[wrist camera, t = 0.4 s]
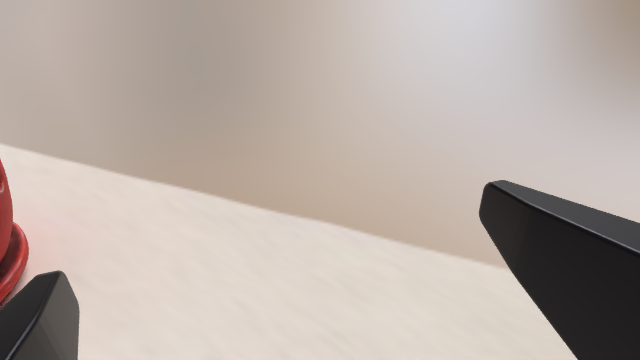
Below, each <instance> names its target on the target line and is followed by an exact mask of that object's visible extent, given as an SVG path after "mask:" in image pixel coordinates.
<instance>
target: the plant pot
mask: <svg viewBox="0 0 640 360" xmlns="http://www.w3.org/2000/svg"><path fill="white" fill-rule="evenodd" d="M28 254H29V247H28V242H27V239H26V236H25V234H24V232H23V231H22V229H21V228H20V227H19V226H18V225H17V224H16V223H14V222H13V210H12V199H11V195H10V190H9V186H8V181H7V177H6V173H5V170H4V168H3V165H2V162H1V160H0V302H1V301H2V300H3V299H4V298H5V297H6V296H7V294H8V293H9V292H10V291H11V290H12V288H13V287H14V286H15V284H16V283H17V281H18V280H19V278H20V277H21V275H22V273H23V271H24V269H25V266H26V263H27V260H28Z"/></svg>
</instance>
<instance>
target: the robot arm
mask: <svg viewBox="0 0 640 360" xmlns="http://www.w3.org/2000/svg"><path fill="white" fill-rule="evenodd" d="M479 217H480V220H481V222H482V224H483V226H484V227H485V229H486V231H487V232H488V234H489V236H490V237H491V239H492V241H493V242H494V244H495V246H496V247H497V249H498V250H499V252H500V254H501V255H502V257H503V259H504V260H505V262H506V264H507V265H508V267H509V268H510V270H511V271H512V273H513V274H514V276H515V277H516V279H517V280H518V281H519V283H520V284H521V285H522V287H523V288H524V289H525V291H526V292H527V293H528V295H529V296H530V297H531V299H532V300H533V301H534V303H535V304H536V305H537V307H538V308H539V309H540V310H541V312H542V313H543V314H544V316H545V317H546V318H547V320H548V321H549V322H550V324H551V325H552V326H553V328H554V329H555V330H556V332H557V333H558V334H559V336H560V337H561V338H562V340H563V341H564V342H565V343H566V345H567V346H568V347H569V349H570V350H571V351H572V353H573V354H574V355H575V357H576V358H577V359H578V360H640V223H637V222H635V221H631V220H628V219H625V218H622V217H619V216H616V215H612V214H609V213H606V212H603V211H600V210H597V209H594V208H590V207H587V206H584V205H581V204H577V203H574V202H571V201H568V200H565V199H562V198H559V197H556V196H553V195H549V194H546V193H543V192H540V191H537V190H534V189H531V188H527V187H524V186H521V185H518V184H515V183H512V182H508V181H505V180H499V181H494V182H489V183H488V184H486V185H485V187H484V190H483V195H482V199H481V205H480V209H479ZM78 336H79V304H78V301H77V299H76V296H75V294H74V292H73V290H72V288H71V285H70V283H69V281H68V279H67V277H66V275H65V274H64V273H63V272H62V271H53V272H48V273H43V274H39V275H37V276H35V277H34V278H33V279H32V280H31V281H30V282H29V283H28V284H27V285H26V286H25V287H24V288H23V289H22V290H21V291H19V292H18V293H17V294H16V295H15V296H14V297H13V298H12V299H11V300H10V301H9V302H8V303H7V304H6V305H5V306H4V307H3V308H2V309H1V310H0V360H77V359H78Z"/></svg>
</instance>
